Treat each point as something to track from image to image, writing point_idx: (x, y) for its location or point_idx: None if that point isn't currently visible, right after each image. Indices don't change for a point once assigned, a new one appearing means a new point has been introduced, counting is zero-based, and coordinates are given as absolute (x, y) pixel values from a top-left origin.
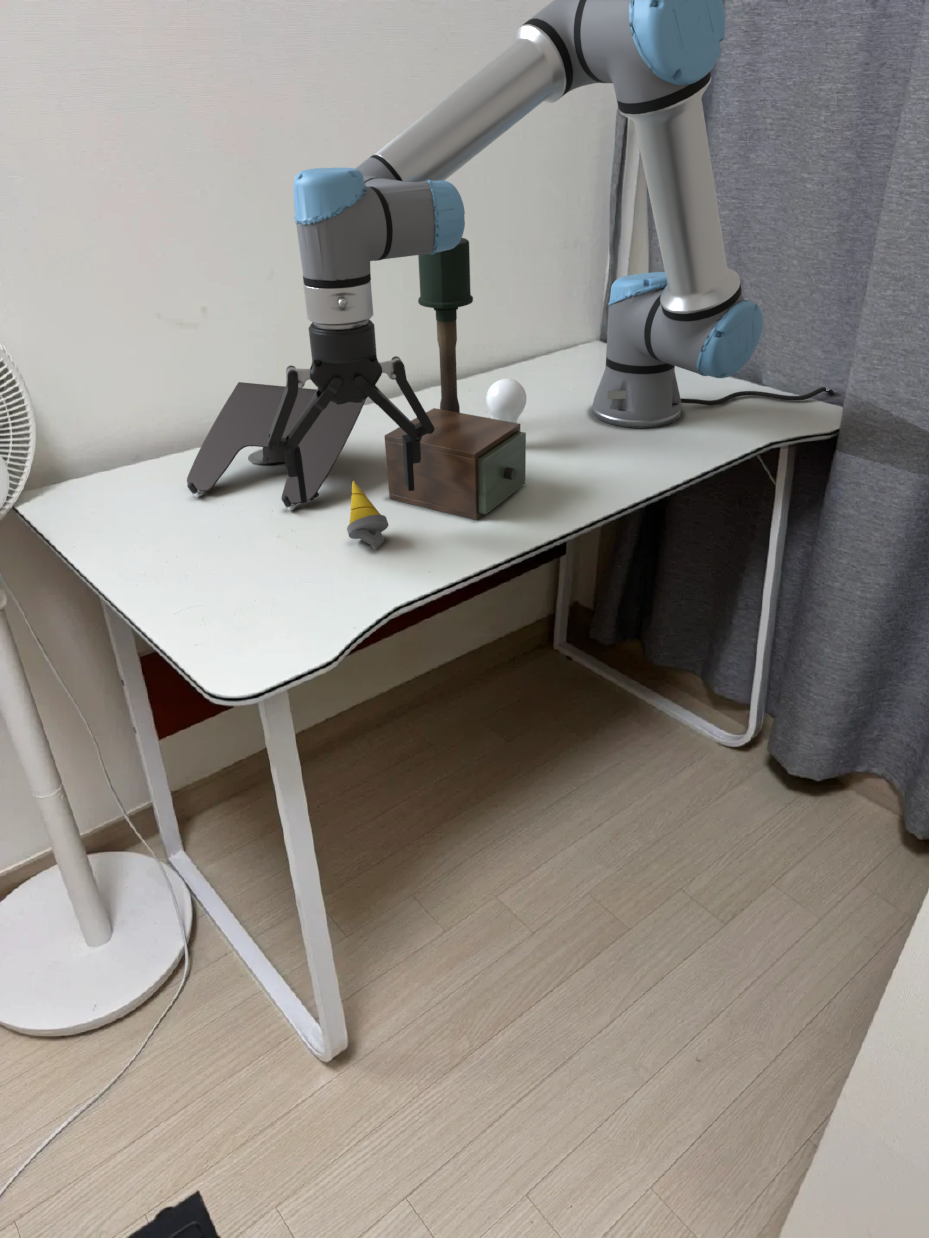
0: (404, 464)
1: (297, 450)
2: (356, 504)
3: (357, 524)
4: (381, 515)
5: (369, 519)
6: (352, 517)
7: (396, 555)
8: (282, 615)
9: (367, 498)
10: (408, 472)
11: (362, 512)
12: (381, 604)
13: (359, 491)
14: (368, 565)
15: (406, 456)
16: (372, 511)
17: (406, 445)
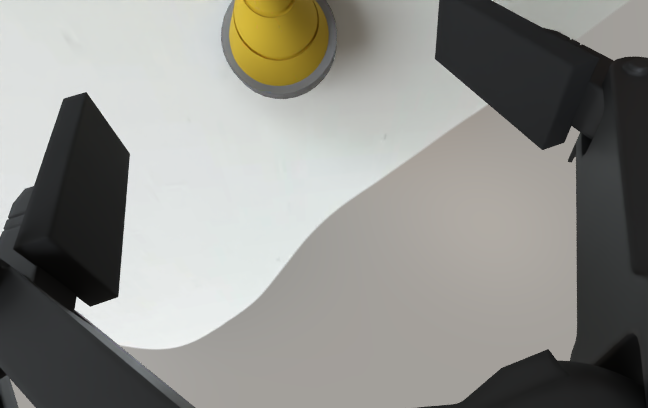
0: (482, 32)
1: (77, 278)
2: (263, 47)
3: (266, 94)
4: (330, 61)
5: (300, 92)
6: (248, 63)
7: (333, 83)
8: (169, 257)
9: (297, 9)
10: (471, 85)
11: (282, 73)
12: (309, 218)
13: (275, 2)
14: (280, 122)
15: (504, 111)
16: (309, 61)
17: (535, 143)
